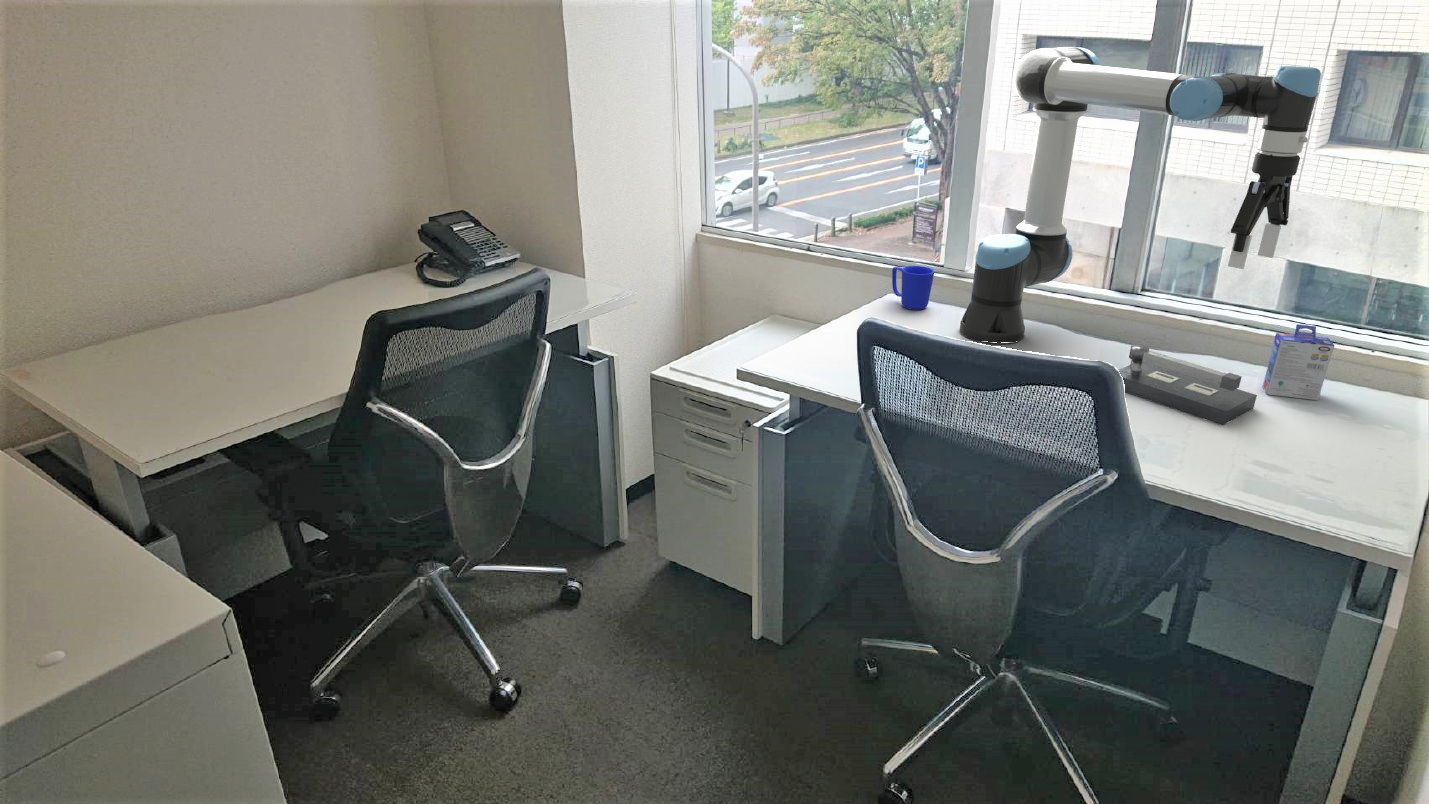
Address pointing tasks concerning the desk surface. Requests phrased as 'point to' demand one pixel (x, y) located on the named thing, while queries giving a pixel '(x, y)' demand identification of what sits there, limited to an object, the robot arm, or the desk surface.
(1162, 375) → the slab
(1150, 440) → the desk surface
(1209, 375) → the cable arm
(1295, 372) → the ink cartridge box
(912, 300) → the mug
